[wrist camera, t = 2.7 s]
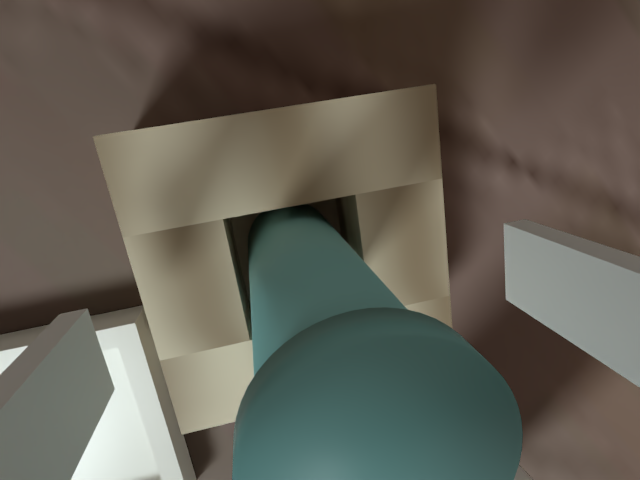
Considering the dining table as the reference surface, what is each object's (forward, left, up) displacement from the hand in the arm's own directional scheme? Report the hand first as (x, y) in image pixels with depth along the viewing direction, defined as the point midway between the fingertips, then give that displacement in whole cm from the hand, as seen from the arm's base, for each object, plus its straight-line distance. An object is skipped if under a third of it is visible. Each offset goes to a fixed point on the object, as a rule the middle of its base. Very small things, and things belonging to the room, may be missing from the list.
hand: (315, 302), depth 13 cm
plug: (0, 0, -7) cm, 7 cm away
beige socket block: (0, 0, -8) cm, 8 cm away
